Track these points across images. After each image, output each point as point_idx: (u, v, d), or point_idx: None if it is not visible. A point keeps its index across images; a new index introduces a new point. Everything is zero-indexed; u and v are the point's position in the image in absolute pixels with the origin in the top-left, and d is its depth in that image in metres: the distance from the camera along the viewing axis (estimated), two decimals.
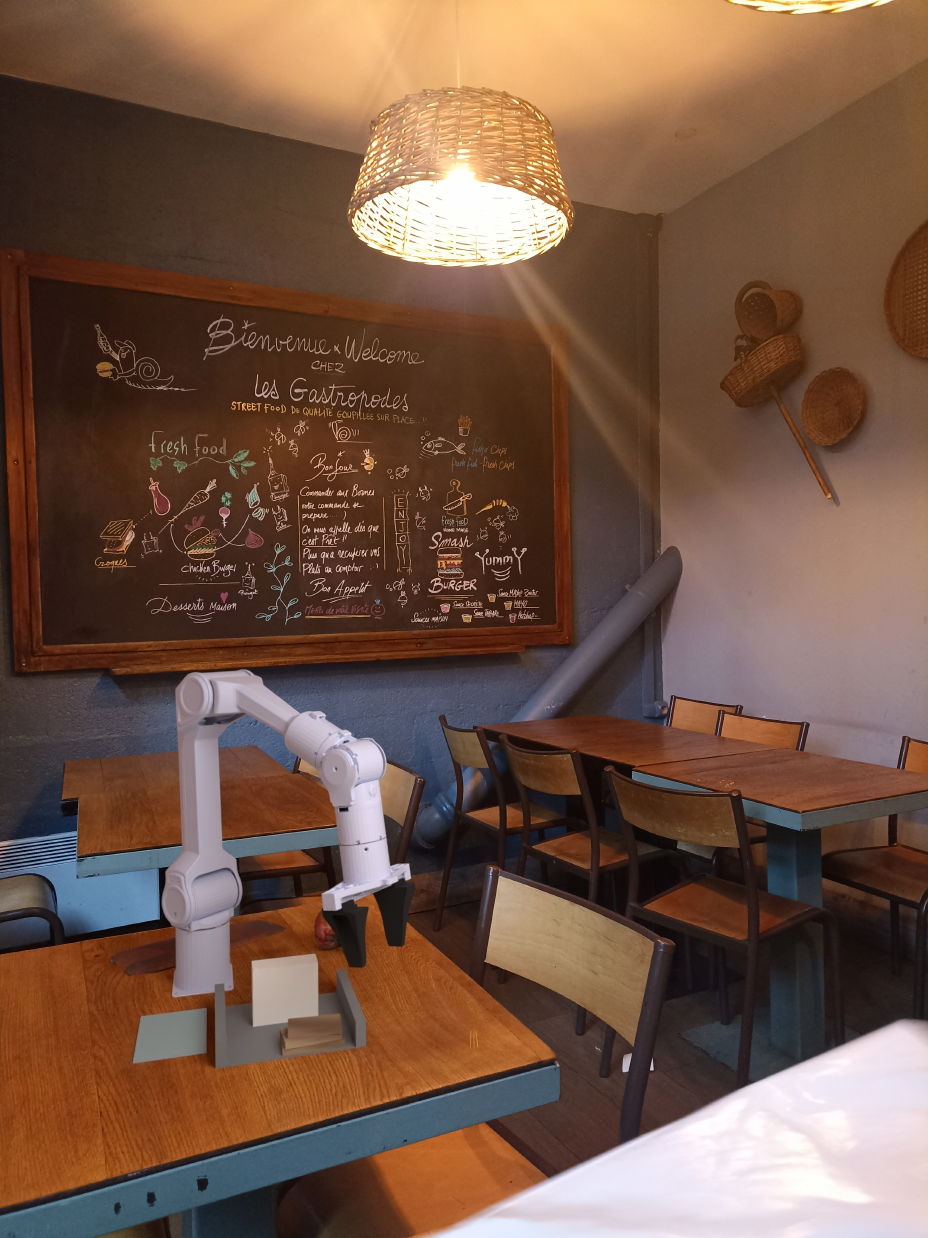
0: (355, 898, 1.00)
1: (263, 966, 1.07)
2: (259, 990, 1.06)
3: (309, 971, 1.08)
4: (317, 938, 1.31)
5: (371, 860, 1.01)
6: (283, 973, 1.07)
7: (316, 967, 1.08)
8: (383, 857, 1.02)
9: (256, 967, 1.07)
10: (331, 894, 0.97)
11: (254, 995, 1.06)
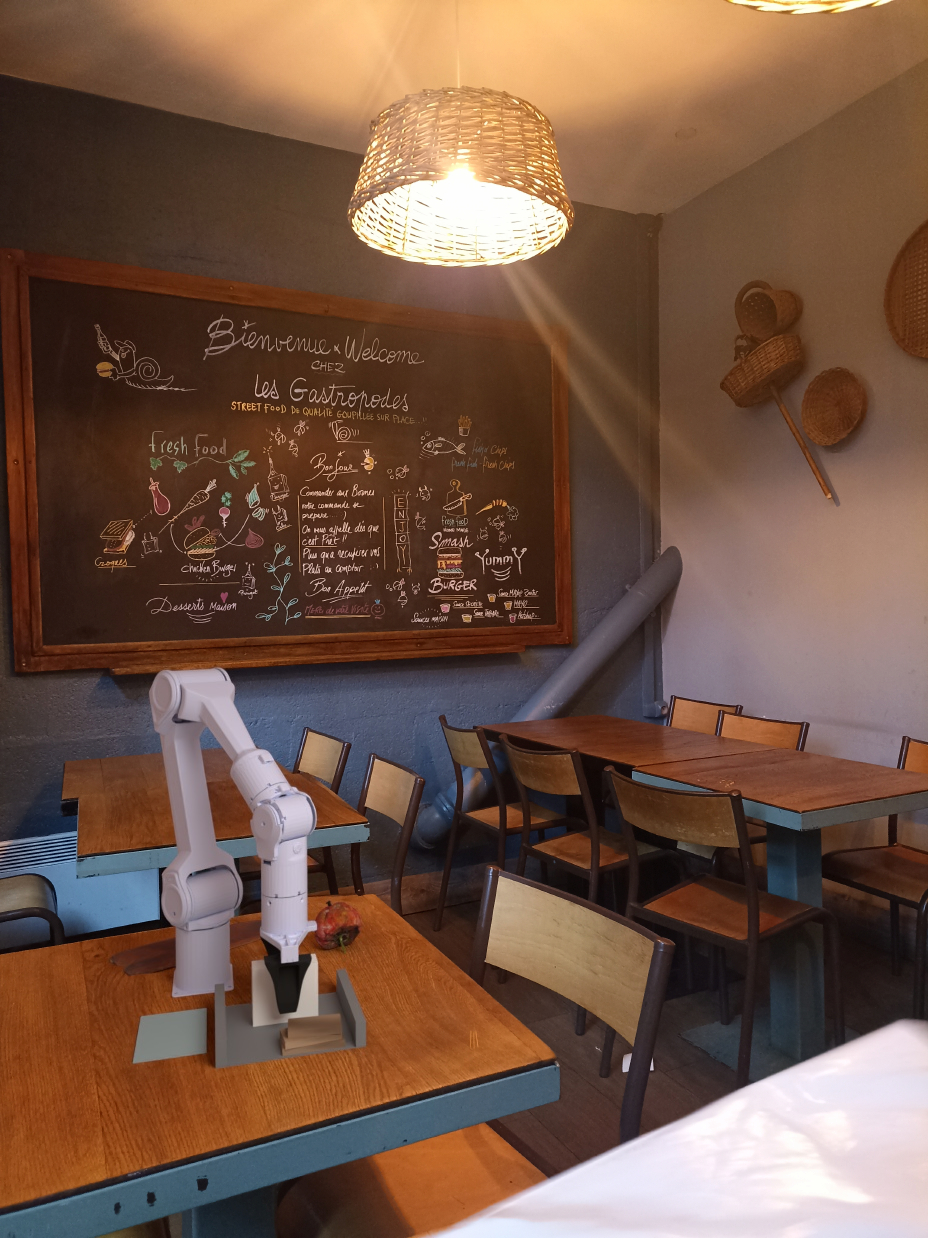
0: None
1: (263, 966, 1.07)
2: (259, 990, 1.06)
3: (309, 971, 1.08)
4: (317, 938, 1.31)
5: (304, 909, 1.07)
6: None
7: (316, 967, 1.08)
8: None
9: (256, 967, 1.07)
10: (294, 946, 1.02)
11: (254, 995, 1.06)
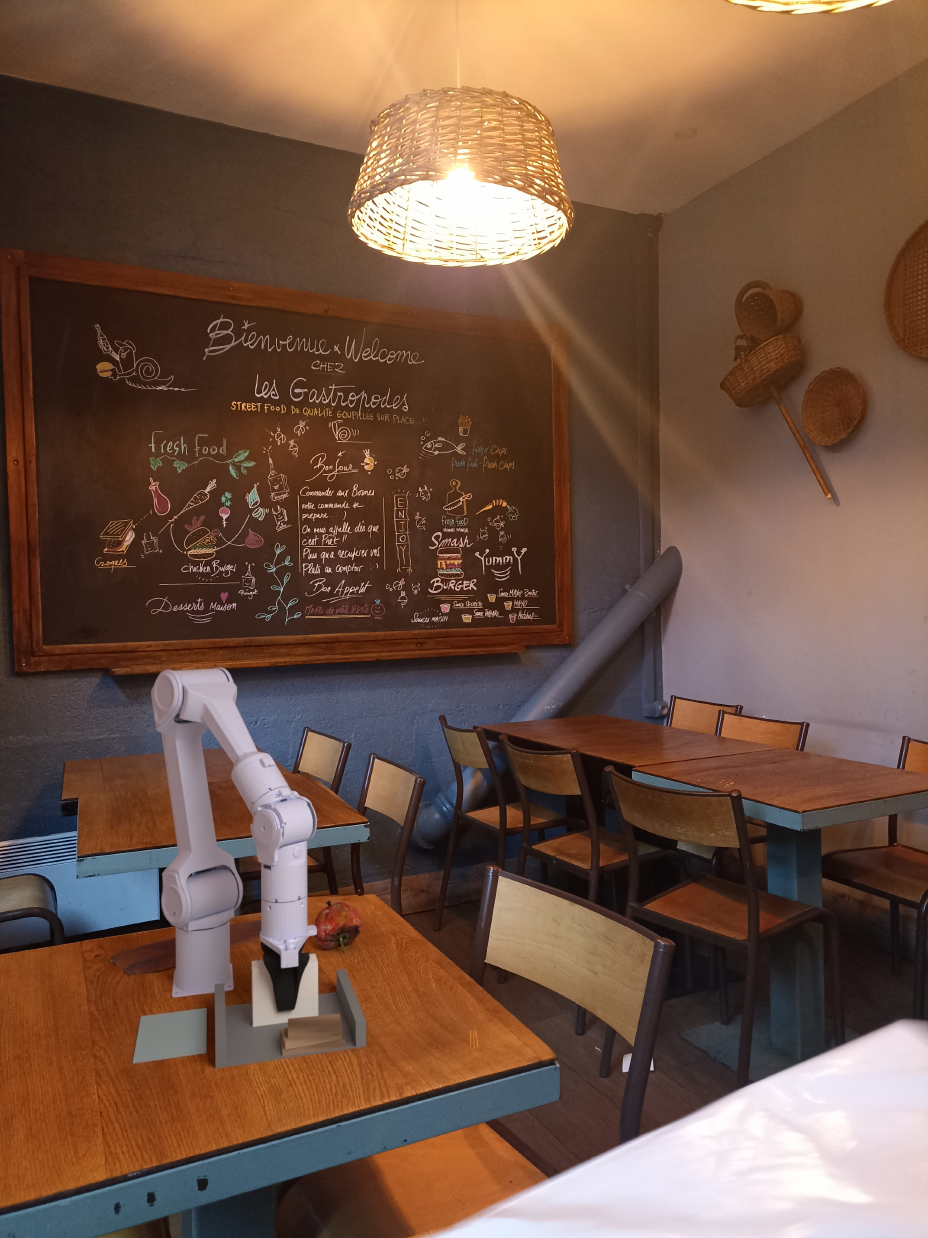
0: None
1: (263, 966, 1.07)
2: (259, 990, 1.06)
3: (309, 971, 1.08)
4: (317, 938, 1.31)
5: (304, 914, 1.07)
6: None
7: (316, 967, 1.08)
8: None
9: (256, 967, 1.07)
10: (294, 951, 1.02)
11: (254, 995, 1.06)
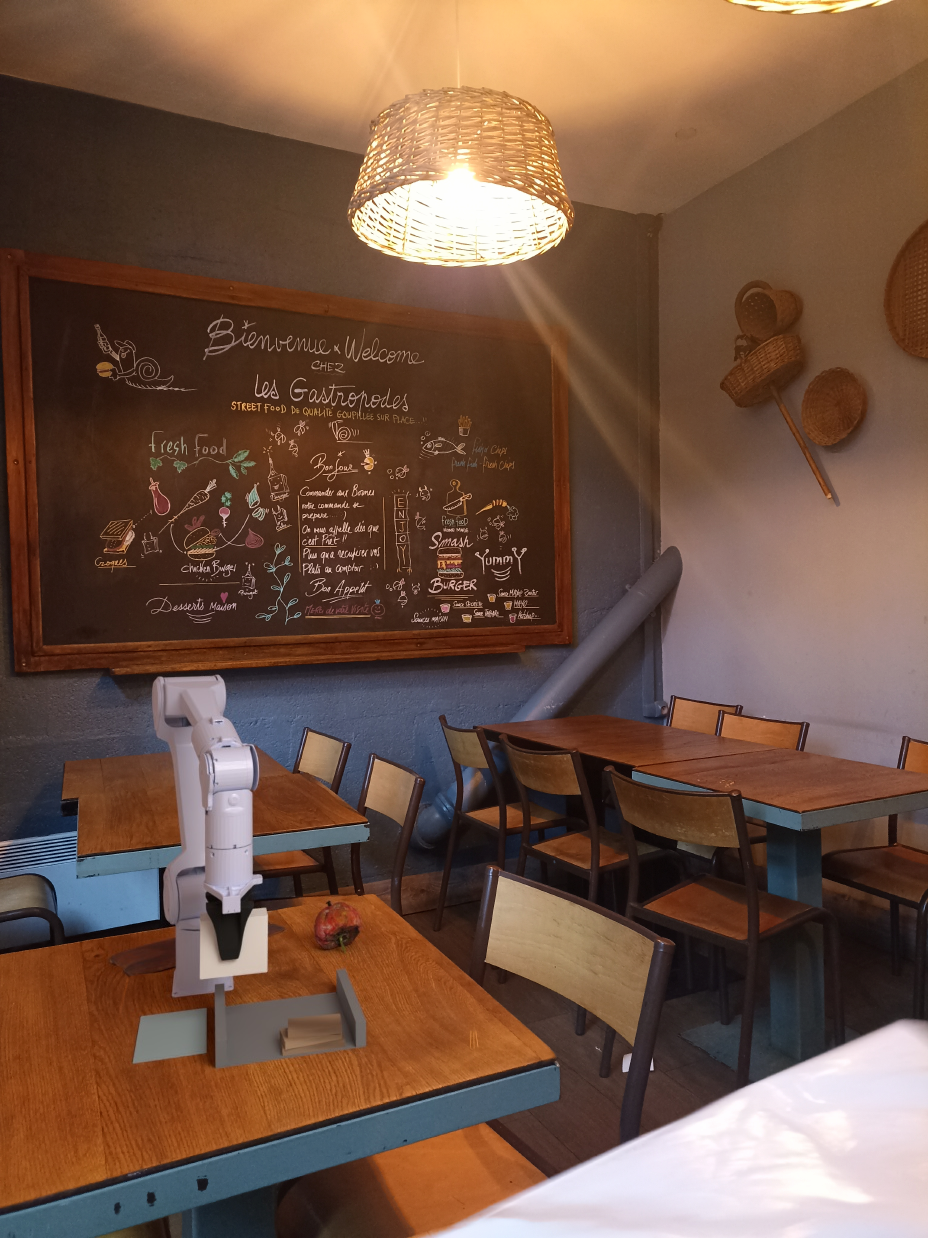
0: None
1: None
2: (206, 942, 1.04)
3: (258, 924, 1.06)
4: (317, 938, 1.31)
5: (248, 862, 1.05)
6: None
7: (266, 920, 1.06)
8: (252, 858, 1.07)
9: (204, 919, 1.05)
10: (236, 897, 1.00)
11: (201, 947, 1.04)
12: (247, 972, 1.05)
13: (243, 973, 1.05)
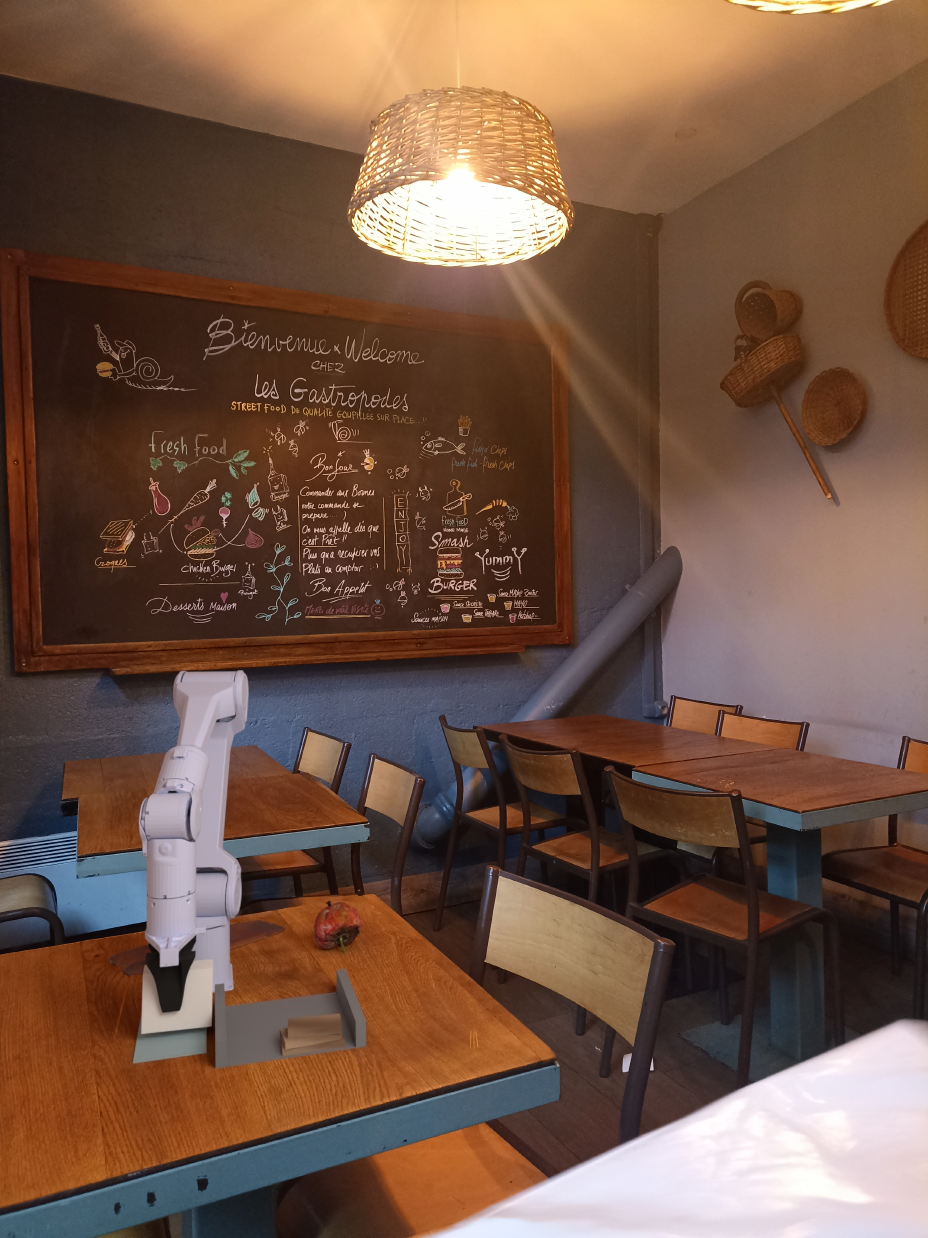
0: None
1: None
2: (149, 995, 1.02)
3: (203, 977, 1.04)
4: (317, 938, 1.31)
5: (191, 911, 1.03)
6: None
7: (211, 973, 1.04)
8: (196, 906, 1.05)
9: (147, 972, 1.02)
10: (174, 949, 0.97)
11: (143, 1001, 1.02)
12: (191, 1026, 1.03)
13: (186, 1027, 1.03)
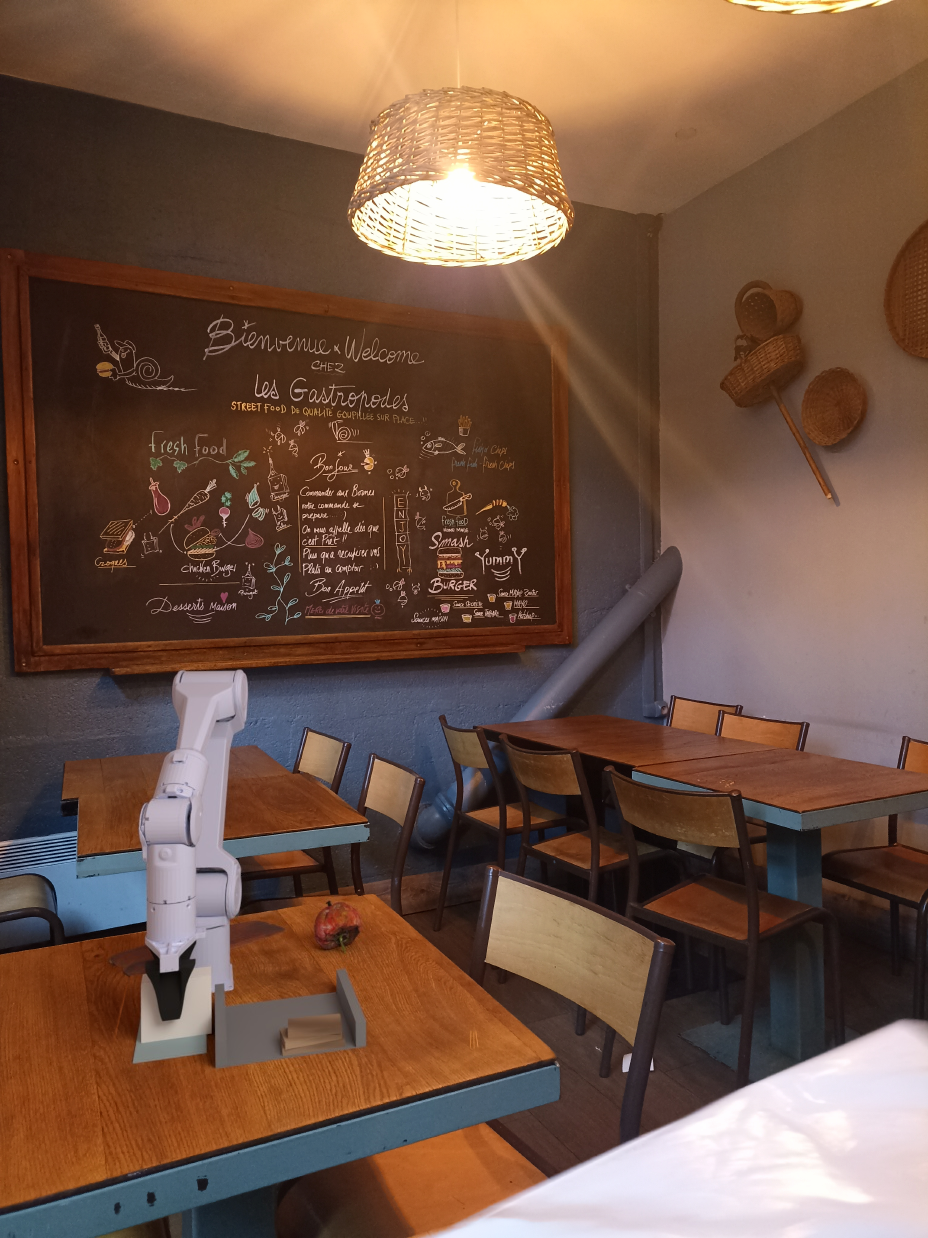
0: None
1: None
2: (148, 1004, 1.02)
3: (201, 984, 1.04)
4: (317, 938, 1.31)
5: (191, 916, 1.03)
6: None
7: (209, 981, 1.04)
8: (196, 911, 1.05)
9: (145, 981, 1.02)
10: (174, 955, 0.97)
11: (142, 1010, 1.02)
12: (190, 1034, 1.03)
13: (186, 1035, 1.03)
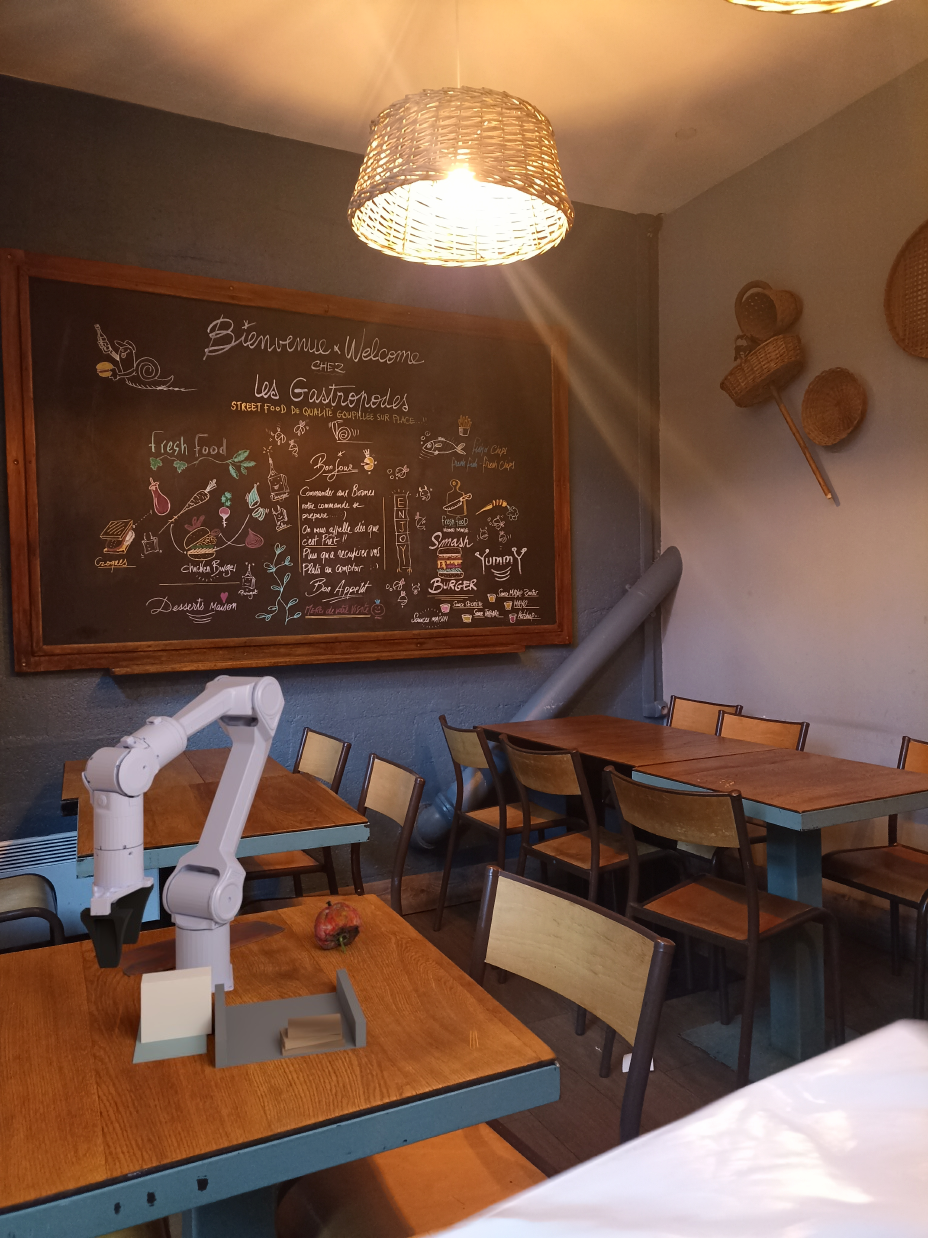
0: (113, 901, 1.03)
1: (153, 980, 1.03)
2: (148, 1004, 1.02)
3: (201, 984, 1.04)
4: (317, 938, 1.31)
5: (133, 864, 1.05)
6: (174, 987, 1.03)
7: (209, 981, 1.04)
8: (142, 860, 1.06)
9: (145, 981, 1.02)
10: (104, 899, 0.99)
11: (142, 1010, 1.02)
12: (190, 1034, 1.03)
13: (186, 1035, 1.03)
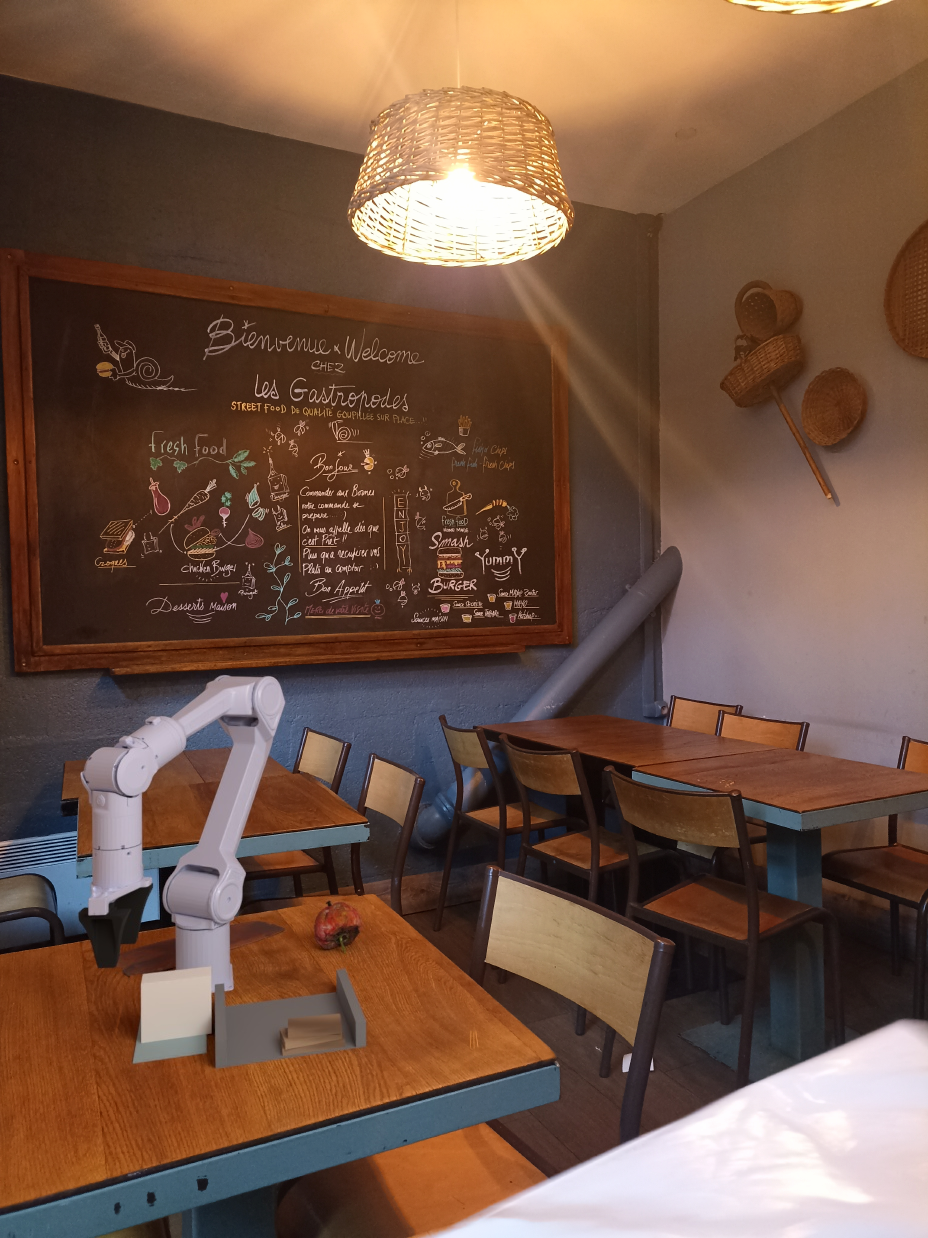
0: (112, 901, 1.03)
1: (153, 980, 1.03)
2: (148, 1004, 1.02)
3: (201, 984, 1.04)
4: (317, 938, 1.31)
5: (132, 864, 1.05)
6: (174, 987, 1.03)
7: (209, 981, 1.04)
8: (140, 860, 1.06)
9: (145, 981, 1.02)
10: (101, 899, 0.99)
11: (142, 1010, 1.02)
12: (190, 1034, 1.03)
13: (186, 1035, 1.03)
